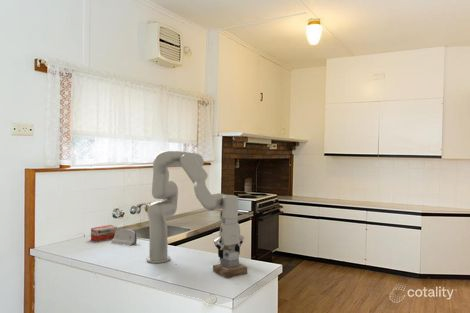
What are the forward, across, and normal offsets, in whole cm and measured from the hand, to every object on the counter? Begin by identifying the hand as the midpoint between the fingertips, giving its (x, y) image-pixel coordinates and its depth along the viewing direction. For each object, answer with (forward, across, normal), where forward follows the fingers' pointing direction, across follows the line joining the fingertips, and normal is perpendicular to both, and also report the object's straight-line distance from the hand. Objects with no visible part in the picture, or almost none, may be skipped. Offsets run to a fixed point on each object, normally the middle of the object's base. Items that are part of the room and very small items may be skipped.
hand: (229, 255), depth 172 cm
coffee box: (+8, +10, +14) cm, 20 cm away
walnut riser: (+8, 0, -1) cm, 8 cm away
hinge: (+10, -22, +85) cm, 89 cm away
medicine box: (+11, -30, +104) cm, 109 cm away
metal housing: (+5, 0, 0) cm, 5 cm away
